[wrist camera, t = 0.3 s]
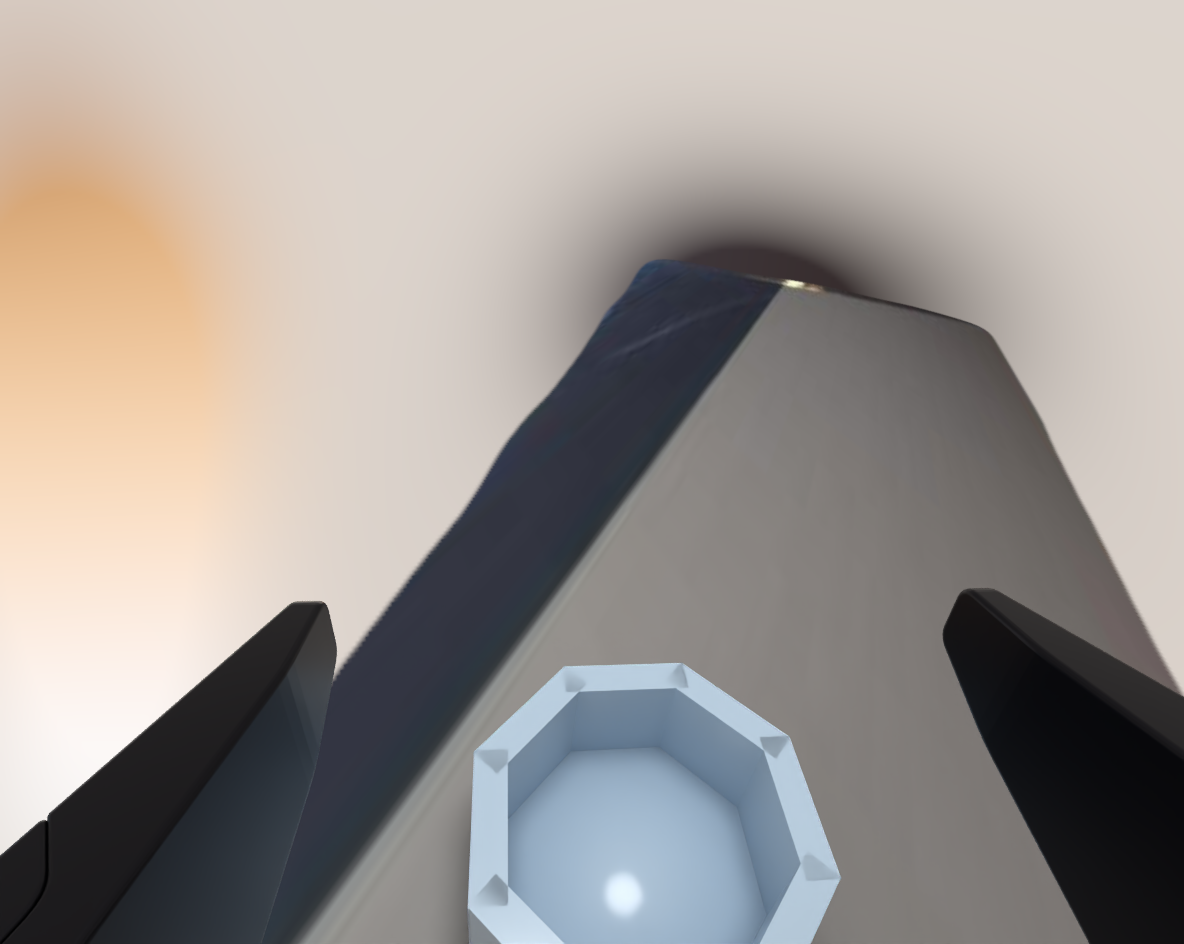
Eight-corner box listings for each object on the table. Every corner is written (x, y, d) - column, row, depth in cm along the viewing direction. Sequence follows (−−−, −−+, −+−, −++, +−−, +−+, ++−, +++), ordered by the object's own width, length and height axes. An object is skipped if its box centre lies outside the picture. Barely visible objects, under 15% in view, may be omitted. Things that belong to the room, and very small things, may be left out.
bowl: (831, 1061, 18) (891, 1013, 16) (465, 1105, 17) (460, 1062, 14) (733, 729, 26) (761, 659, 23) (478, 741, 25) (476, 668, 22)
